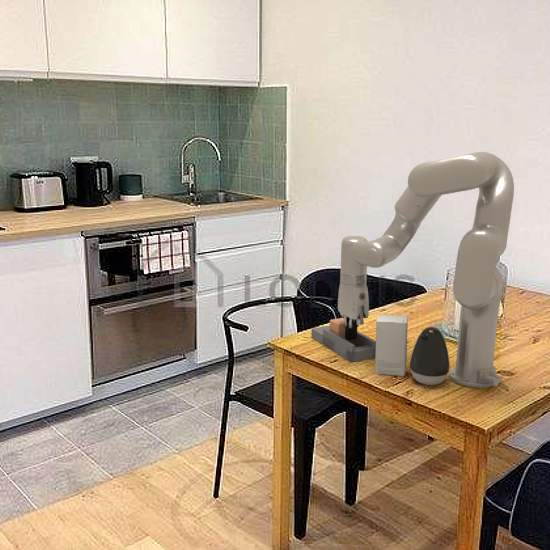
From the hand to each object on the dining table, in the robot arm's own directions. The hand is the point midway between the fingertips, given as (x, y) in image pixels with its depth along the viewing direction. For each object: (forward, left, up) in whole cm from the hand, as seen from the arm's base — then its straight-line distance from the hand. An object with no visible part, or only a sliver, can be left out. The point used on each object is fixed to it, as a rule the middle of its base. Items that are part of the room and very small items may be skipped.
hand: (350, 338), depth 190 cm
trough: (+4, 0, -4) cm, 6 cm away
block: (+6, 0, -1) cm, 6 cm away
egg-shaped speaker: (-27, -7, -4) cm, 28 cm away
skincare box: (-17, -2, -4) cm, 18 cm away
